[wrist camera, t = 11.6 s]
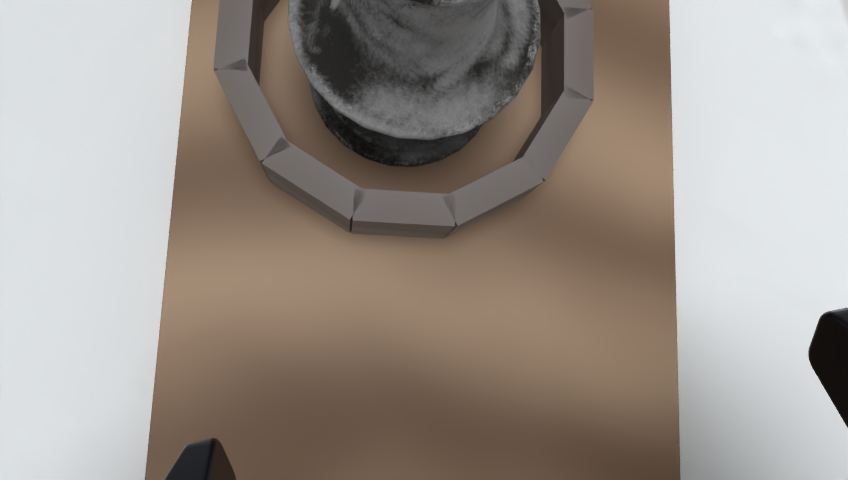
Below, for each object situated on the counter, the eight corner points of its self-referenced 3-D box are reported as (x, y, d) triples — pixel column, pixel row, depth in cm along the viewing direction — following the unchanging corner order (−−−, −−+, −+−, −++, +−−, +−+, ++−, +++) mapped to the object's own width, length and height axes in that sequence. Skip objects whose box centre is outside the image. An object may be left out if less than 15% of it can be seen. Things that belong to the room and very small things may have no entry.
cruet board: (660, 540, 18) (725, 582, 15) (151, 539, 17) (107, 586, 14) (649, -39, 21) (702, -105, 18) (211, -87, 20) (186, -168, 16)
